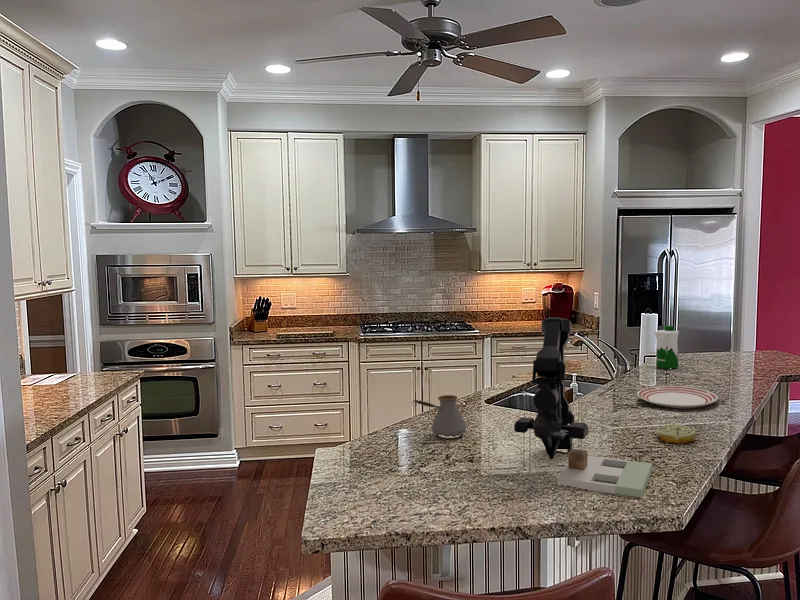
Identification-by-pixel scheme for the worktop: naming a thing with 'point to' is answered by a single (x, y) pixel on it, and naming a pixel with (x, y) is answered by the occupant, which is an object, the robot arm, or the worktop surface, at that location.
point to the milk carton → (667, 347)
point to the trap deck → (609, 476)
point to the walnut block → (577, 459)
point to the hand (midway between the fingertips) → (551, 458)
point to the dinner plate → (677, 396)
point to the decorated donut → (676, 433)
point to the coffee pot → (447, 416)
